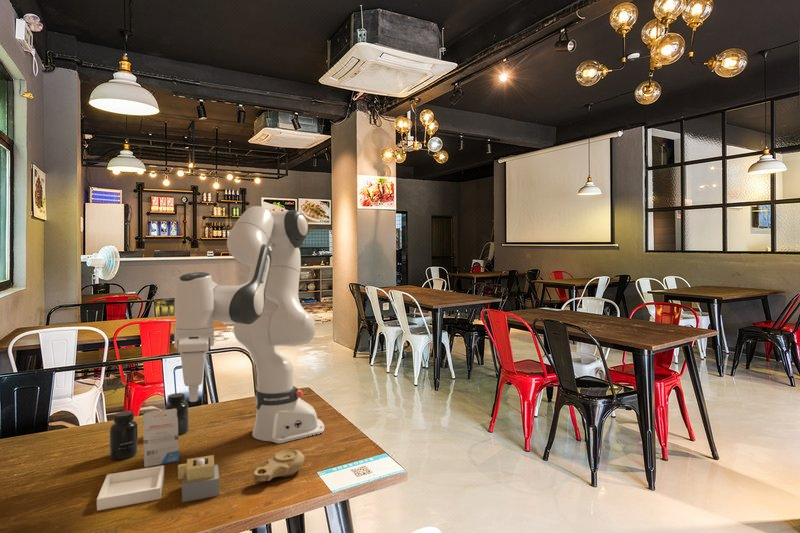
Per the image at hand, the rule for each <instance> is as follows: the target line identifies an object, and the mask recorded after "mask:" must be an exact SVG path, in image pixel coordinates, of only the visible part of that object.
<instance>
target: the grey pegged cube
mask: <svg viewBox="0 0 800 533" xmlns="http://www.w3.org/2000/svg"><path fill="white" fill-rule="evenodd" d="M204 464H205V459H203V458H201V459H198V460H197V466H198V465H204ZM218 496H220V474H219V465H218V464H214V478H209V479H204V480H198V481H192V482H187V478H184V479H182V480H181V503H185V502H192V501H197V500H202V499H207V498H211V497H218Z"/></svg>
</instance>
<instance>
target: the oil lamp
mask: <svg viewBox="0 0 800 533" xmlns="http://www.w3.org/2000/svg"><path fill="white" fill-rule="evenodd" d="M304 463H305V455H304V454H303V453H302V451H300V450H299V449H283V450H281V451H278V452H277V453H275V455H273V456H272V457H271V458H269V459H267V460H266V465H264V466H259V467H258V466H257V467H255V468H254V471H253V474H252V475H253V478H254V479H255V480H256V481H258V482H266V481H271V480H272V479H275V478H279V477H285V478H286V477H290V476H294V475H295V474H296V473H297V472H298V470H300V469H301V468H302V466H303V465H304Z"/></svg>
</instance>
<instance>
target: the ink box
mask: <svg viewBox="0 0 800 533" xmlns="http://www.w3.org/2000/svg"><path fill="white" fill-rule="evenodd" d="M165 414H166V416H165ZM159 415H163V416H159ZM142 423H143V424H142V429H143V430H142V433H143V435H142V436H143V465H144V468H150V467H155V466H160V465H163V464H168V463H169V464H170V463H174V462H178V461H180V457H179V456H180V454H179V452H180V451H179V450H180V449H179V435H178V418H177V409H169V410H165V409H162V410H155V411H148V412H145V413H143V422H142Z"/></svg>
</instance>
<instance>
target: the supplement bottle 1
mask: <svg viewBox="0 0 800 533" xmlns="http://www.w3.org/2000/svg"><path fill="white" fill-rule="evenodd" d="M134 419H135V413H134V411H131V410H125V411H124V410H123V411H119V412H117V413H114V415H113V423H112V424H111V425H110V427H109V458H110V459H112V460H114V461H122V460H127V459H130V458H133V457H135V456H136V455H137V453H138V450H139V449H138V448H139V447H138V444H139V442H138V439H139V438H138V433H139V432H138V427H139V426H138V425H139V424H138V423H137V421H136V420H134Z"/></svg>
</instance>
